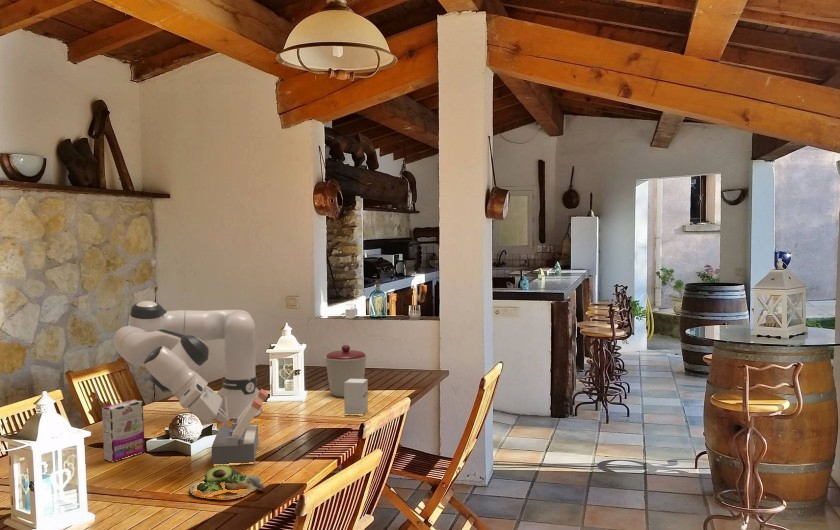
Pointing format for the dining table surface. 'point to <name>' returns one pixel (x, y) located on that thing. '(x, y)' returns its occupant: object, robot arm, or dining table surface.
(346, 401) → the supplement box
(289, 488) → the dining table surface
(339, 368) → the canister
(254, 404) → the lever
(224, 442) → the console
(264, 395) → the lever
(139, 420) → the candy bar box
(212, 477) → the salad plate
